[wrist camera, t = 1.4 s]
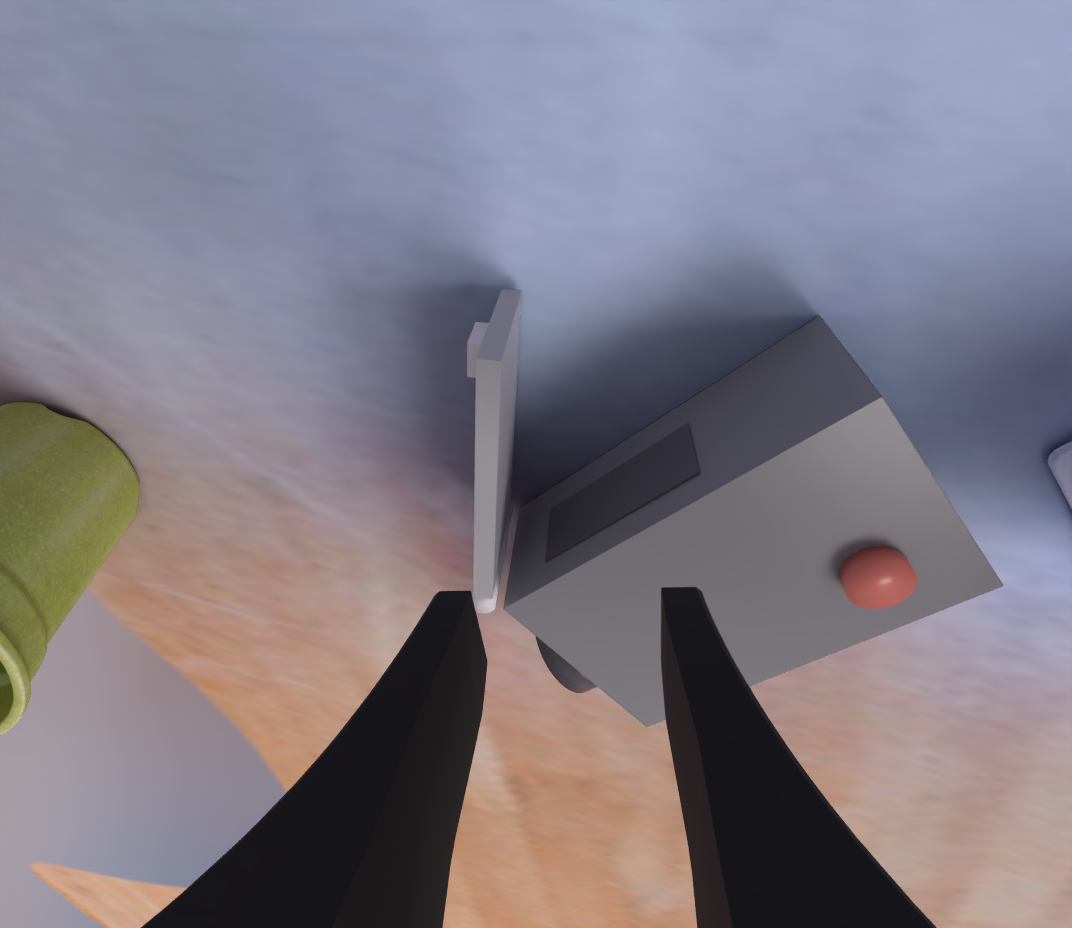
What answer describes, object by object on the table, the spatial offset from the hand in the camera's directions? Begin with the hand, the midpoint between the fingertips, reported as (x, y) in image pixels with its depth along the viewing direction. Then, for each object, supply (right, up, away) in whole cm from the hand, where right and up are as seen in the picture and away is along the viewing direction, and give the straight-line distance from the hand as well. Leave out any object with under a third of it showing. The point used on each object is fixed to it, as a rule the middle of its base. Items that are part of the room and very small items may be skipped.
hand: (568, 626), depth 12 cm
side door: (-2, +5, +9) cm, 11 cm away
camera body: (+6, +2, +11) cm, 12 cm away
